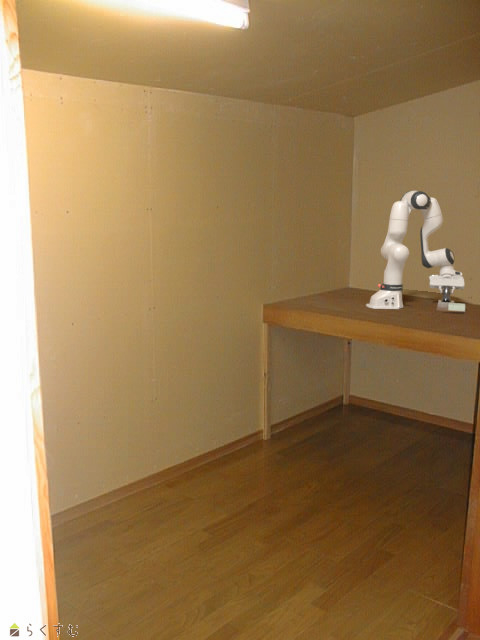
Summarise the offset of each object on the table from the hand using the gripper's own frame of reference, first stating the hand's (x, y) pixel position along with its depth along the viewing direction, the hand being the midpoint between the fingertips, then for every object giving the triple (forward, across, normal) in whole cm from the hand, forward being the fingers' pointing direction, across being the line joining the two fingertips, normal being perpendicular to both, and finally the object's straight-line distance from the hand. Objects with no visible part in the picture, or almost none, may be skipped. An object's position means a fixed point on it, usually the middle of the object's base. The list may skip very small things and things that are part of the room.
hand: (446, 293), depth 356 cm
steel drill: (+5, 0, +6) cm, 7 cm away
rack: (+12, +6, -1) cm, 14 cm away
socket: (+5, 0, +6) cm, 8 cm away
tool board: (+10, +3, +4) cm, 11 cm away
